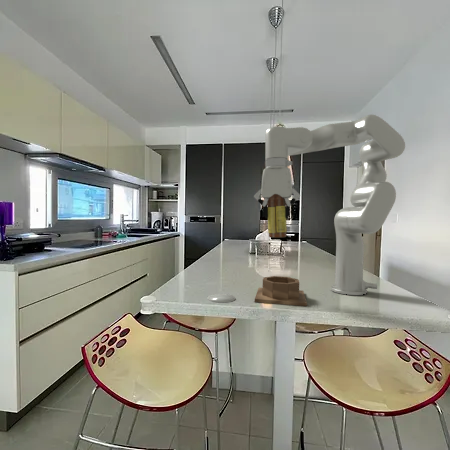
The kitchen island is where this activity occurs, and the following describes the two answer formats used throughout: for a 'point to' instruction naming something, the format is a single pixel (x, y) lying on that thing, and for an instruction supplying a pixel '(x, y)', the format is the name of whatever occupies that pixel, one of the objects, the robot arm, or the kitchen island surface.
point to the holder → (281, 291)
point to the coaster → (221, 298)
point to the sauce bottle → (276, 217)
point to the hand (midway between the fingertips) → (276, 217)
